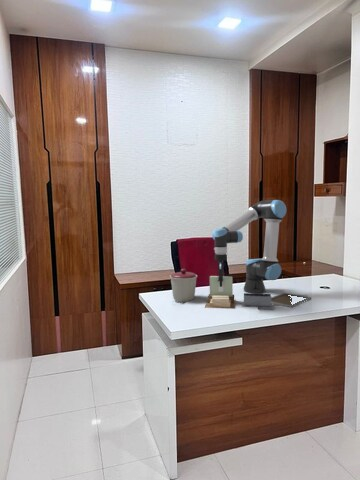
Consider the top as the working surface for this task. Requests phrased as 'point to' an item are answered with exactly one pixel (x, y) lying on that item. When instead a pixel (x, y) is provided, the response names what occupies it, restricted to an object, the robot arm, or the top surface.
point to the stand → (257, 301)
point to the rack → (232, 306)
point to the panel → (226, 286)
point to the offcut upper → (220, 299)
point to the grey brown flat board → (286, 300)
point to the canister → (183, 285)
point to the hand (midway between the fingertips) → (221, 290)
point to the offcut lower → (220, 304)
